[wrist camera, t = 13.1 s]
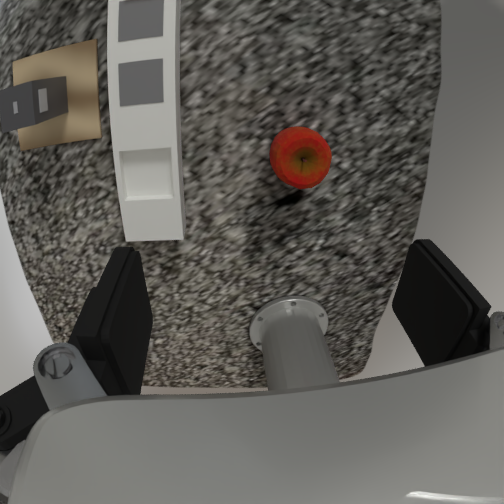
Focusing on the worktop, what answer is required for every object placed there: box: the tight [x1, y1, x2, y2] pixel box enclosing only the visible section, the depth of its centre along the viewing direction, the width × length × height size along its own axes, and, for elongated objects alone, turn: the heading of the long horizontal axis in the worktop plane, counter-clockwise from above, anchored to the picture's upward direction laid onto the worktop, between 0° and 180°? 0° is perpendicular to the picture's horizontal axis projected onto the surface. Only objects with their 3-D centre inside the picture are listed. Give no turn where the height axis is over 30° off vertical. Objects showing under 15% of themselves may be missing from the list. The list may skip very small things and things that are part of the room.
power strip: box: [107, 0, 186, 241], centre depth 28 cm, size 38×7×4 cm, turn 179°
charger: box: [0, 76, 69, 133], centre depth 26 cm, size 4×5×8 cm
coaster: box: [13, 39, 102, 151], centre depth 29 cm, size 12×12×1 cm
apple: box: [270, 127, 332, 189], centre depth 33 cm, size 6×6×8 cm
